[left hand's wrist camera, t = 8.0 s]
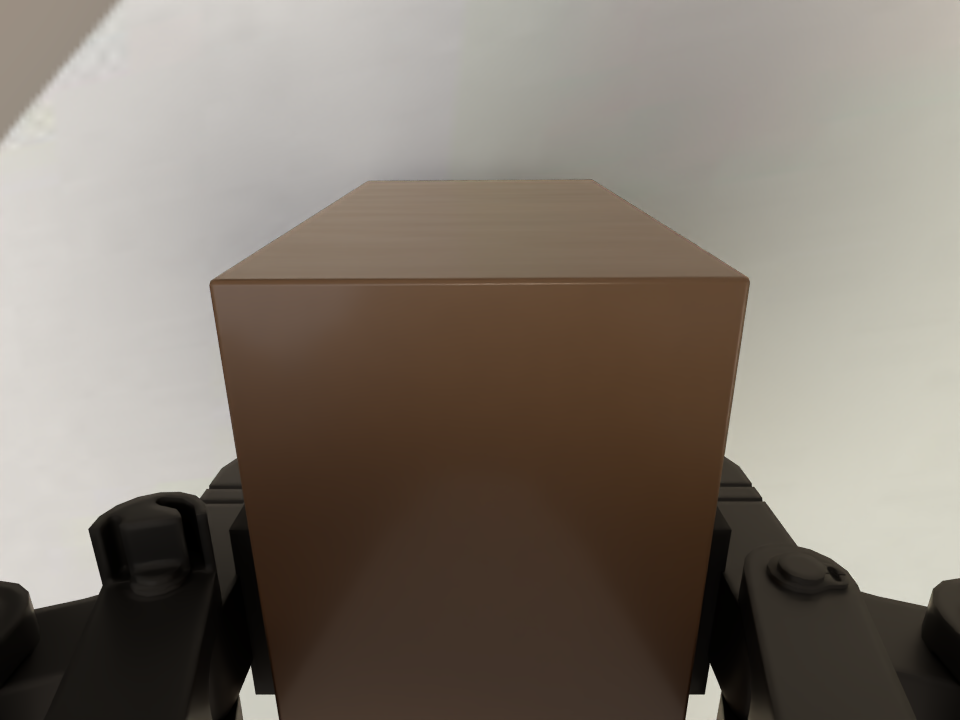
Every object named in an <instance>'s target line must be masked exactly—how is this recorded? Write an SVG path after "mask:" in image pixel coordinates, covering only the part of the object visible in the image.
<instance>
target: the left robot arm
mask: <svg viewBox="0 0 960 720" xmlns="http://www.w3.org/2000/svg"><path fill="white" fill-rule="evenodd" d="M88 530H89V534H90V538H91V541H92V545H93V549H94V553H95V557H96V561H97V565H98V569H99V573H100V577H101V580H102V584H103V586H102V588H101V591H100V593H99V595H96V596H92V597H89V598H85V599H81V600H76V601H72V602H67V603H62V604H57V605H53V606H48V607H43V608H39V609H34V608H33V605H32V602H31V598H30V595H29V592H28V591H27V590H26V589H25V588H23V587H22V586H21V585H20V584H17V583H11V582H4V581H0V720H243V716H242V709H241V703H240V697H239V693H240V690H241V688H242V685H243V683H244V680H245V678H246V676H247V673H248V671H249V668H250V666H251V668H252V674H253V680H254V686H255V693H256V694H275V690H274V684H273V678H272V672H271V666H270V659H269V653H268V647H267V641H266V634H265V628H264V622H263V616H262V610H261V603H260V597H259V591H258V585H257V578H256V572H255V566H254V560H253V553H252V547H251V541H250V535H249V529H248V522H247V516H246V510H245V504H244V497H243V491H242V485H241V479H240V473H239V466H238V460H237V459H235V460H234V461H232V462H231V463H229V464H228V465H226V466H225V467H223V468H222V469H221V470H220V472H219V473H218V474H217V476H216V477H215V478H214V480H213V481H212V483H211V484H210V485H209V489H206V491H205V492H204V494H203V495H202V496H201V498H200V499H199V498H198V497H197V496H195V495H191V494H187V493H182V492H160V493H155V494H150V495H145V496H141V497H137V498H134V499H132V500H129V501H127V502H124V503H122V504H119V505H117V506H115V507H114V508H112V509H110V510H109V511H107V512H106V513H104V514H103V515H101V516H99V518H98V519H97V520H96V521H95V522H94V523H93V524H92V526H91V527H90V528H89V529H88ZM710 664H711V666H712V669H713V671H714V674H715V676H716V678H717V681H718V683H719V686H720V688H721V690H722V691H721V697H720V703H719V708H718V714H717V720H960V578H959V579H952V580H946V581H942V582H941V583H940V584H938V585H937V586H936V587H935V588H934V589H933V591H932V594H931V597H930V601H929V604H928V607H926V606H921V605H916V604H912V603H907V602H902V601H897V600H893V599H888V598H883V597H878V596H875V595H871V594H867V593H864V592H860V589H859V587H858V585H857V583H856V582H855V581H854V579H853V578H852V577H851V575H850V574H849V573H848V571H847V570H845V569H844V568H843V567H841V566H840V565H839V564H837V563H836V562H835V561H833V560H832V559H830V558H828V557H826V556H824V555H822V554H819V553H817V552H815V551H813V550H810V549H806V548H802V547H798V546H797V545H796V543H795V542H794V541H793V539H792V538H791V537H790V535H789V534H788V532H787V531H786V530H785V528H784V527H783V526H782V524H781V523H780V522H779V520H778V519H777V517H776V516H775V515H774V513H773V512H772V511H771V509H770V508H769V507H768V505H767V504H766V502H763V501H762V497H761V496H760V494H759V493H758V491H757V490H756V489H755V487H752V483H751V482H750V481H749V479H748V478H747V476H746V475H745V474H744V472H743V471H742V470H741V468H740V467H739V466H738V465H736V464H735V463H733V462H732V461H730V460H729V459H727V458H726V457H724V461H723V468H722V474H721V481H720V488H719V495H718V501H717V508H716V515H715V522H714V529H713V535H712V542H711V549H710V556H709V562H708V569H707V576H706V583H705V589H704V596H703V603H702V610H701V616H700V623H699V630H698V637H697V644H696V650H695V657H694V664H693V671H692V677H691V684H690V691H689V694H705V689H706V683H707V677H708V671H709V665H710Z"/></svg>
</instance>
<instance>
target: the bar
mask: <svg viewBox="0 0 960 720" xmlns="http://www.w3.org/2000/svg"><path fill="white" fill-rule="evenodd" d="M749 285H750V281H749V278H748V277H747V276H745V275H743V274H742V273H740V272H739V271H737V270H735V269H734V268H732V267H731V266H729V265H727V264H726V263H724V262H723V261H721V260H720V259H718V258H716V257H715V256H713V255H712V254H710V253H708V252H707V251H705V250H704V249H702V248H700V247H699V246H697V245H696V244H694V243H692V242H691V241H689V240H688V239H686V238H684V237H683V236H681V235H680V234H678V233H676V232H675V231H673V230H672V229H670V228H669V227H667V226H665V225H664V224H662V223H661V222H659V221H657V220H656V219H654V218H653V217H651V216H649V215H648V214H646V213H645V212H643V211H641V210H640V209H638V208H637V207H635V206H633V205H632V204H630V203H629V202H627V201H625V200H624V199H622V198H621V197H619V196H618V195H616V194H614V193H613V192H611V191H610V190H608V189H606V188H605V187H603V186H602V185H600V184H598V183H597V182H595V181H594V180H430V181H367V182H366V183H364V184H362V185H361V186H359V187H358V188H356V189H354V190H353V191H351V192H350V193H348V194H347V195H345V196H343V197H342V198H340V199H339V200H337V201H336V202H334V203H332V204H331V205H329V206H328V207H326V208H325V209H323V210H321V211H320V212H318V213H317V214H315V215H314V216H312V217H310V218H309V219H307V220H306V221H304V222H302V223H301V224H299V225H298V226H296V227H295V228H293V229H291V230H290V231H288V232H287V233H285V234H284V235H282V236H280V237H279V238H277V239H276V240H274V241H273V242H271V243H269V244H268V245H266V246H265V247H263V248H262V249H260V250H258V251H257V252H255V253H254V254H252V255H251V256H249V257H247V258H246V259H244V260H243V261H241V262H239V263H238V264H236V265H235V266H233V267H232V268H230V269H228V270H227V271H225V272H224V273H222V274H221V275H219V276H217V277H216V278H214V279H213V280H211V281H210V292H211V298H212V304H213V311H214V317H215V323H216V329H217V336H218V342H219V348H220V354H221V360H222V367H223V373H224V379H225V385H226V392H227V398H228V404H229V410H230V416H231V423H232V429H233V435H234V441H235V448H236V454H237V460H238V466H239V473H240V479H241V485H242V491H243V497H244V504H245V510H246V516H247V522H248V529H249V535H250V541H251V547H252V553H253V560H254V566H255V572H256V578H257V585H258V591H259V597H260V603H261V610H262V616H263V622H264V628H265V634H266V641H267V647H268V653H269V659H270V666H271V672H272V678H273V684H274V690H275V697H276V703H277V709H278V715H279V720H685V718H686V711H687V704H688V698H689V691H690V684H691V677H692V671H693V664H694V657H695V650H696V644H697V637H698V630H699V623H700V616H701V610H702V603H703V596H704V589H705V583H706V576H707V569H708V562H709V556H710V549H711V542H712V535H713V529H714V522H715V515H716V508H717V501H718V495H719V488H720V481H721V474H722V468H723V461H724V454H725V447H726V441H727V434H728V427H729V420H730V414H731V407H732V400H733V393H734V386H735V380H736V373H737V366H738V359H739V353H740V346H741V339H742V332H743V326H744V319H745V312H746V305H747V299H748V292H749Z"/></svg>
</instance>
